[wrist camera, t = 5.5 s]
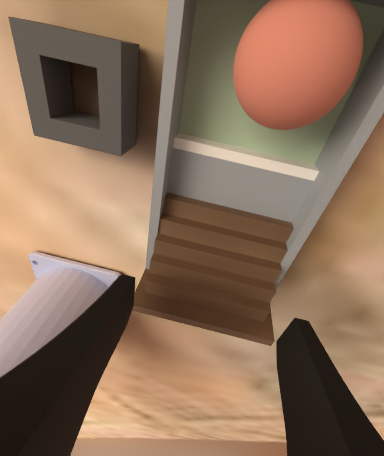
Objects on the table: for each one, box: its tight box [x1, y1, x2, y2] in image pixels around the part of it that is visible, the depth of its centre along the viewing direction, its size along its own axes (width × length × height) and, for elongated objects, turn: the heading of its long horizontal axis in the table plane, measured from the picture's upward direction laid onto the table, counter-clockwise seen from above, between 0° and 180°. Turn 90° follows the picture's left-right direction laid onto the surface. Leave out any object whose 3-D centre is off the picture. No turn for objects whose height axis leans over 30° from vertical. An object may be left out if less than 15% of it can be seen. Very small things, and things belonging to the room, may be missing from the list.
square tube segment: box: [9, 17, 139, 156], centre depth 11 cm, size 4×4×2 cm
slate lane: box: [146, 0, 384, 289], centre depth 11 cm, size 14×8×4 cm, turn 170°
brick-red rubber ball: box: [233, 0, 363, 130], centre depth 8 cm, size 4×4×4 cm
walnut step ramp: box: [132, 192, 294, 346], centre depth 14 cm, size 6×8×5 cm
